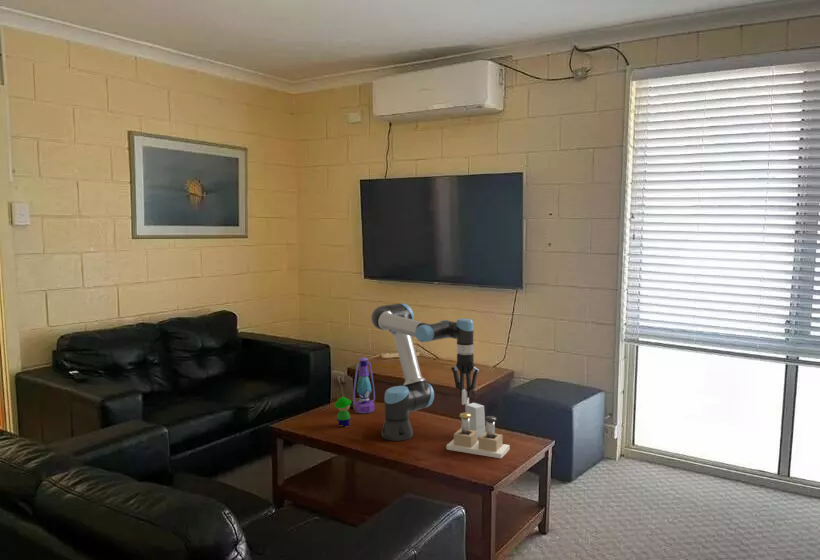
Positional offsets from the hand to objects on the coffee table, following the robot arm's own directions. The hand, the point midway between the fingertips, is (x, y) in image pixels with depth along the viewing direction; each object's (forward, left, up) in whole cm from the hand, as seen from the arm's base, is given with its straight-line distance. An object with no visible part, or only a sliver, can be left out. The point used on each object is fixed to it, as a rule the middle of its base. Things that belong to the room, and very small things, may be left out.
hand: (465, 403), depth 284 cm
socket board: (+6, 0, -20) cm, 21 cm away
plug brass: (0, 0, -14) cm, 14 cm away
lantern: (-71, +29, -21) cm, 79 cm away
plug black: (+12, 0, -14) cm, 19 cm away
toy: (-68, +3, -21) cm, 71 cm away
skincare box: (-2, +18, -21) cm, 27 cm away
